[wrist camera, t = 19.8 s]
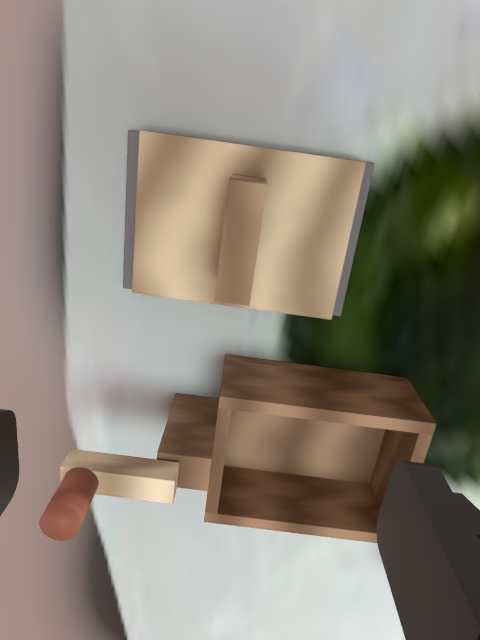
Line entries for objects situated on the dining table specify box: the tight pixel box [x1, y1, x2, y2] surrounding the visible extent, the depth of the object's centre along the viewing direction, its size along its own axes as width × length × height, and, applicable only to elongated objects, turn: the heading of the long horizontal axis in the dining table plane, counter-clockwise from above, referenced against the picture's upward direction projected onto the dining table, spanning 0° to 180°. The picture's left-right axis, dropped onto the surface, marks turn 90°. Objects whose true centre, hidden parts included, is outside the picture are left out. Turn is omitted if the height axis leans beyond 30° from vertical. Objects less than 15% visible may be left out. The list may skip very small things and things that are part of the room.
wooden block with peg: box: [39, 449, 179, 541], centre depth 31 cm, size 8×2×6 cm, turn 83°
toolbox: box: [157, 355, 436, 543], centre depth 38 cm, size 20×12×8 cm, turn 83°
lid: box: [132, 130, 366, 320], centre depth 33 cm, size 16×12×6 cm
